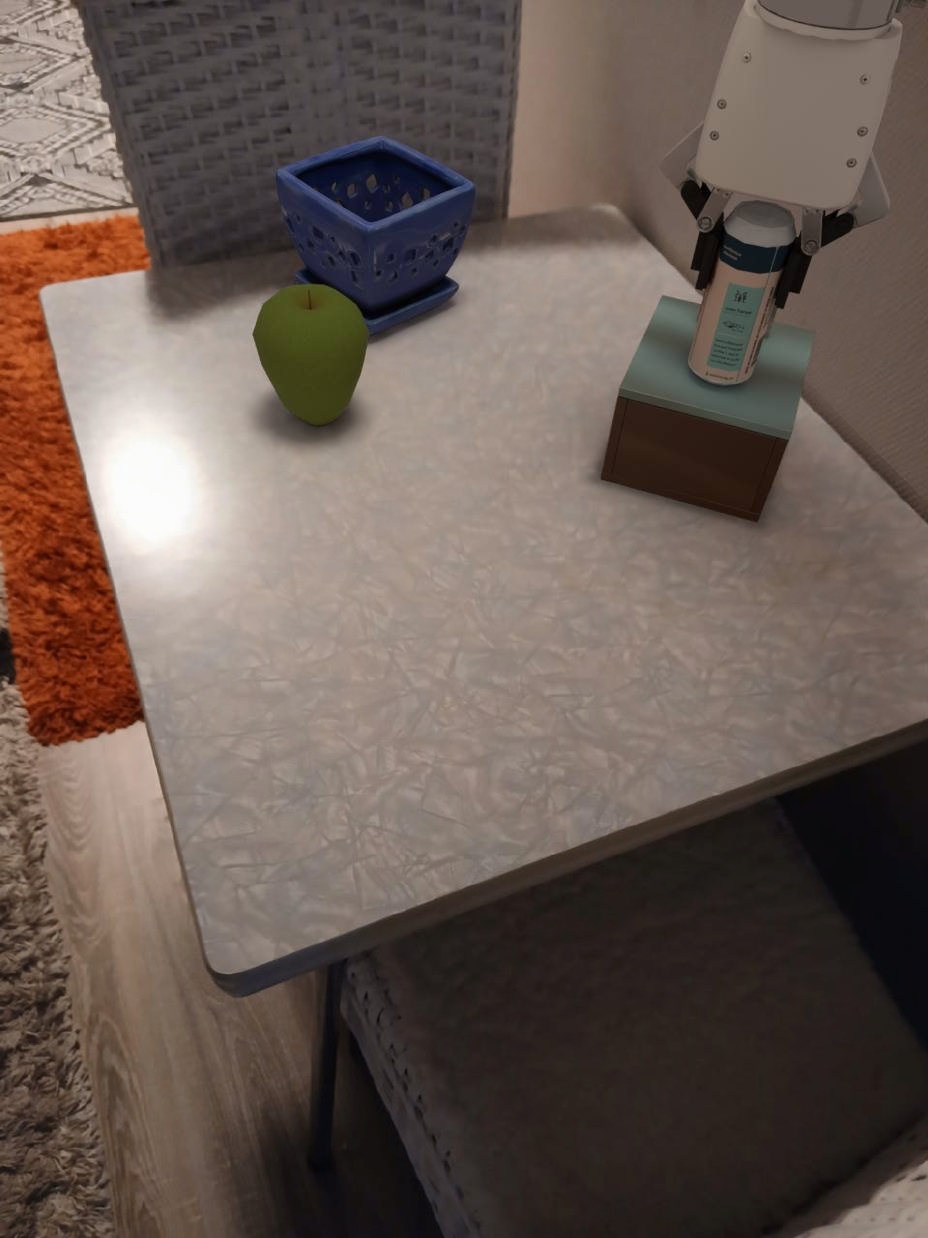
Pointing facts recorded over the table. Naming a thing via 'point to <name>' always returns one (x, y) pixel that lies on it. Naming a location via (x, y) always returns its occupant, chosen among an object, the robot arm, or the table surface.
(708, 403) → the lid
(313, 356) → the apple
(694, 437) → the chest
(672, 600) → the table surface
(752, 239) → the beer can
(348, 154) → the flower pot
